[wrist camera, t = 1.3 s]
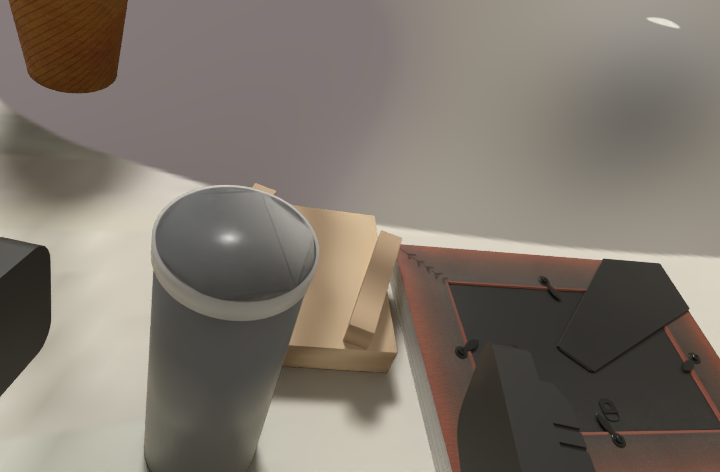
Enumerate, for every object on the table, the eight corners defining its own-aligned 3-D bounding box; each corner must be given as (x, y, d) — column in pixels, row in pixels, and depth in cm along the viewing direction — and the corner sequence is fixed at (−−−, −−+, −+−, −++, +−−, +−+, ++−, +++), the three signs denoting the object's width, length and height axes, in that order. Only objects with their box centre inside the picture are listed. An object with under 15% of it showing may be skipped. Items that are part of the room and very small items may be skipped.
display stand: (189, 360, 32) (194, 320, 30) (205, 217, 40) (210, 176, 38) (403, 373, 35) (422, 338, 33) (379, 238, 43) (394, 201, 41)
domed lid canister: (133, 497, 27) (139, 296, 18) (150, 389, 31) (163, 175, 21) (256, 498, 28) (323, 312, 19) (258, 394, 32) (315, 195, 23)
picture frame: (641, 283, 48) (382, 266, 42) (660, 262, 47) (393, 241, 40) (769, 493, 37) (441, 512, 31) (799, 475, 35) (459, 491, 29)
